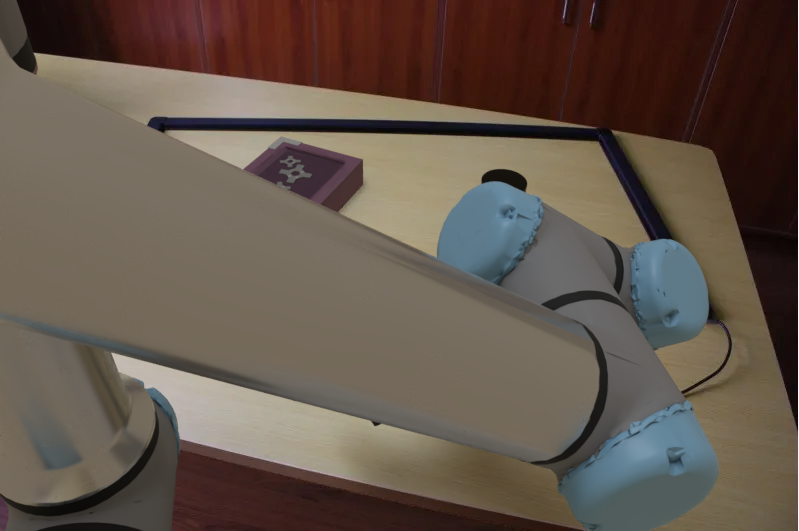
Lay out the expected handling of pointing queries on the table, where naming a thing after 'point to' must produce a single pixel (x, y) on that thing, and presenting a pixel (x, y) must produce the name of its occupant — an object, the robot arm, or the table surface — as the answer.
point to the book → (310, 171)
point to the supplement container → (506, 178)
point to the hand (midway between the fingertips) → (384, 361)
